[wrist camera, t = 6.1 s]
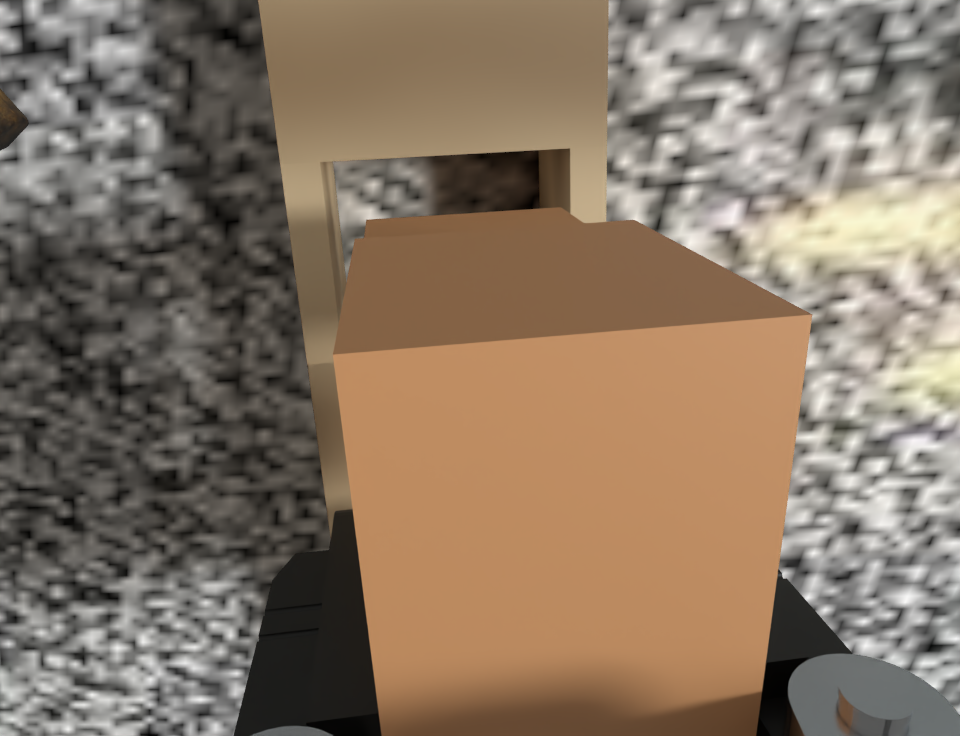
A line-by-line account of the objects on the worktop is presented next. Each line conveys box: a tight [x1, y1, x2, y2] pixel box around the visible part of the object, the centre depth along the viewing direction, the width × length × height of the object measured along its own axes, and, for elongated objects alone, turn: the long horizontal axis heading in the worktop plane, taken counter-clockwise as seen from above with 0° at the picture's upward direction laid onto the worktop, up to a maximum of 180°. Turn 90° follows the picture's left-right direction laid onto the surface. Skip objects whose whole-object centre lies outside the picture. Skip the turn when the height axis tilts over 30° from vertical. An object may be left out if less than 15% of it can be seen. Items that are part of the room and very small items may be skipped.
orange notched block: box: [333, 207, 812, 736], centre depth 9 cm, size 9×3×7 cm, turn 3°
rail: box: [258, 0, 608, 537], centre depth 16 cm, size 18×6×3 cm, turn 3°
